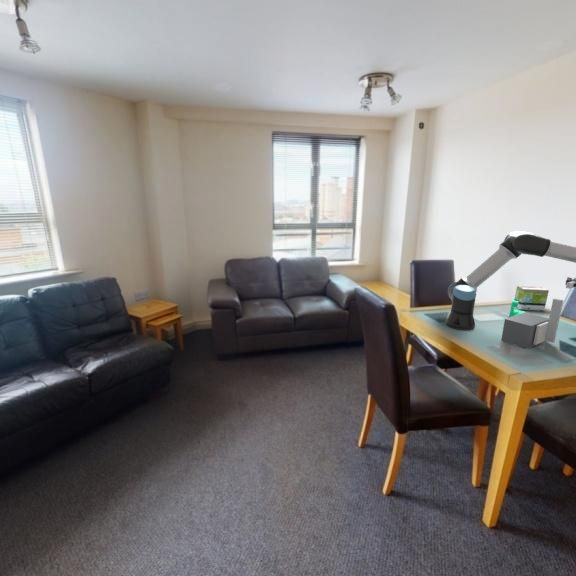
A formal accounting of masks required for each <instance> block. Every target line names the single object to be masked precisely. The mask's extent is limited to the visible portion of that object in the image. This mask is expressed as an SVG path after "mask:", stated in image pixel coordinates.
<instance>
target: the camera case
mask: <svg viewBox="0 0 576 576" xmlns="http://www.w3.org/2000/svg"><path fill="white" fill-rule="evenodd" d="M545 322H549V317H544V316H541V315H537V314H532V313H528V312H526V311H524V313H521V314H518V315H515V316H512V317H506V318H504V322H503V327H502V334H501V340H500V341H503V342H505V343H509V344H512V345H513V346H517V347H520V348H523V349H526V350H527V349H530V348H532V347H535V345H534V344H533V343H534V338H535V332H536V327H537V325H539V324H542V323H545Z"/></svg>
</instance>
